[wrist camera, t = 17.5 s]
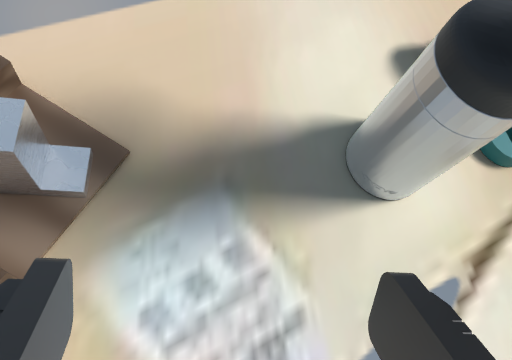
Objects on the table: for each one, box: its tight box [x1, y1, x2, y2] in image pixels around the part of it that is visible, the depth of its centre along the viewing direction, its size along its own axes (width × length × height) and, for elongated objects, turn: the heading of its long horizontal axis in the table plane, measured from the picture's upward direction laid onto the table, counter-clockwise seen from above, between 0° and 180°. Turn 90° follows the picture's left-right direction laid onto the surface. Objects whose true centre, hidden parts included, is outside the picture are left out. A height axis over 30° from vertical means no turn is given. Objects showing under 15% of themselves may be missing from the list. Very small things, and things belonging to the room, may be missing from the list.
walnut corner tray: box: [0, 55, 130, 284], centre depth 38 cm, size 16×14×4 cm
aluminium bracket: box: [0, 97, 93, 198], centre depth 36 cm, size 8×4×9 cm, turn 90°
